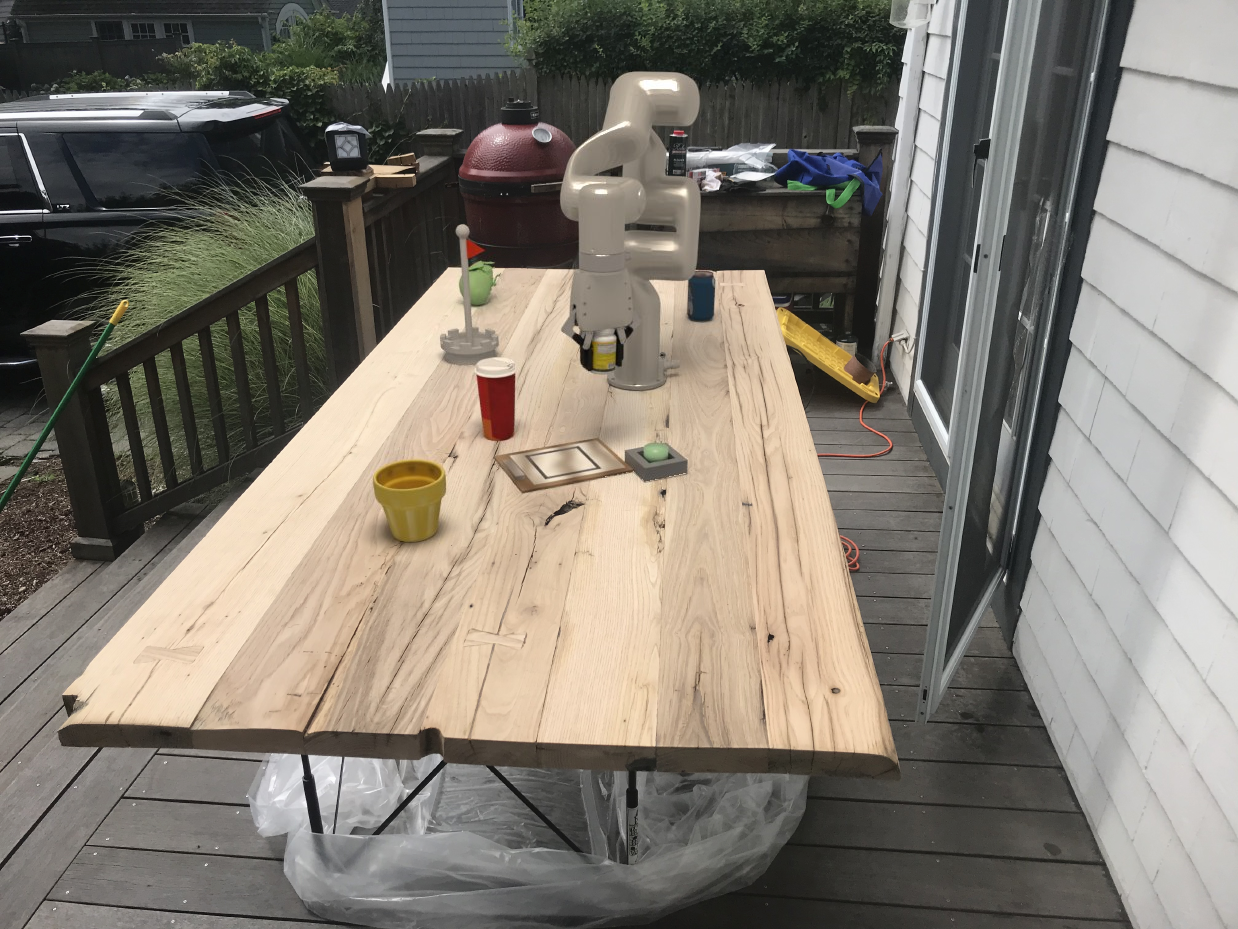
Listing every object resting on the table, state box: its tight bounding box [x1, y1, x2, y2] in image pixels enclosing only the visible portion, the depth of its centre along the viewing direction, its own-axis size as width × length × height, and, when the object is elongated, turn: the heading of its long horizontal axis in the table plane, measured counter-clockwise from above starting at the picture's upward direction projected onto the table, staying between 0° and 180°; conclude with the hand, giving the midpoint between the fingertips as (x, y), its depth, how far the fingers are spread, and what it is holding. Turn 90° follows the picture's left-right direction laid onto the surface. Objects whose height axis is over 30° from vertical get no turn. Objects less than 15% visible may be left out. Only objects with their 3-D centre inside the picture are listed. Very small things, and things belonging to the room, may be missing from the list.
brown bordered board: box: [493, 437, 633, 494], centre depth 164 cm, size 20×15×1 cm
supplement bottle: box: [589, 329, 616, 376], centre depth 163 cm, size 5×5×8 cm
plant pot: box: [372, 458, 447, 543], centre depth 141 cm, size 10×10×10 cm
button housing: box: [624, 442, 689, 482], centre depth 162 cm, size 8×8×3 cm
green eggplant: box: [458, 260, 502, 306], centre depth 255 cm, size 12×11×11 cm
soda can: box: [686, 269, 717, 323], centre depth 242 cm, size 7×7×12 cm
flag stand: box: [439, 223, 500, 367], centre depth 210 cm, size 13×13×30 cm
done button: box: [643, 442, 668, 463], centre depth 162 cm, size 4×4×3 cm
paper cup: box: [473, 356, 518, 442], centre depth 173 cm, size 8×8×14 cm
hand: (601, 365), depth 164 cm, fingers closed on supplement bottle, 4 cm apart
